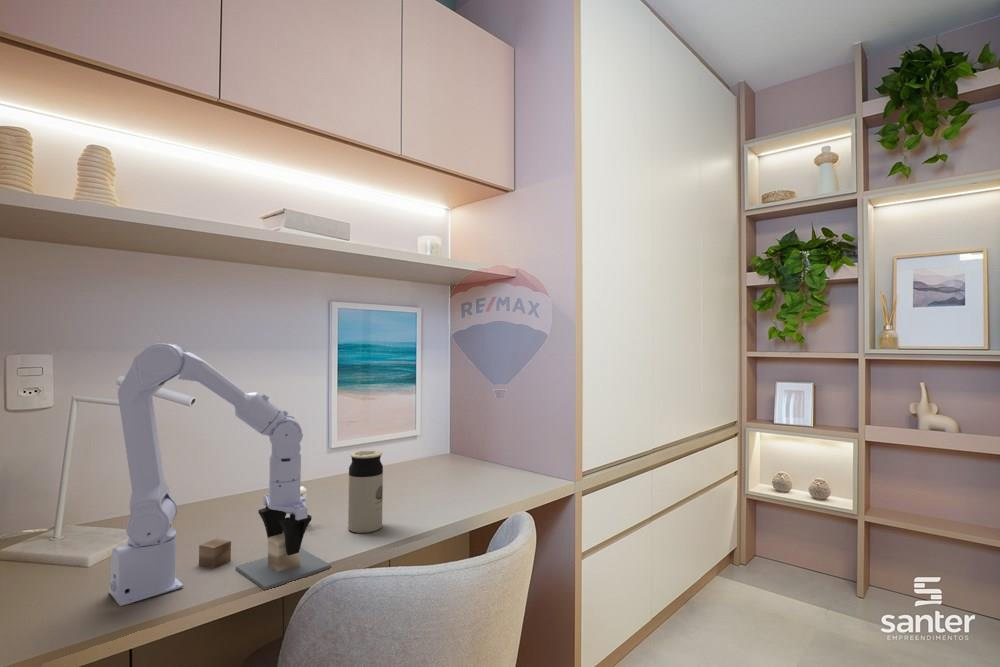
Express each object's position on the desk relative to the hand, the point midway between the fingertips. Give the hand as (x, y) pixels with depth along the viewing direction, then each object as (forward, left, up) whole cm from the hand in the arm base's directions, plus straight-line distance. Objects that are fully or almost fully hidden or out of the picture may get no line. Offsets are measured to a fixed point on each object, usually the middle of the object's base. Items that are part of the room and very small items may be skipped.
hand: (283, 548), depth 102 cm
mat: (0, 0, -4) cm, 4 cm away
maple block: (0, 0, -3) cm, 3 cm away
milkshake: (+14, +23, -4) cm, 27 cm away
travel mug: (+24, +8, -4) cm, 26 cm away
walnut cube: (-8, +13, -4) cm, 16 cm away
